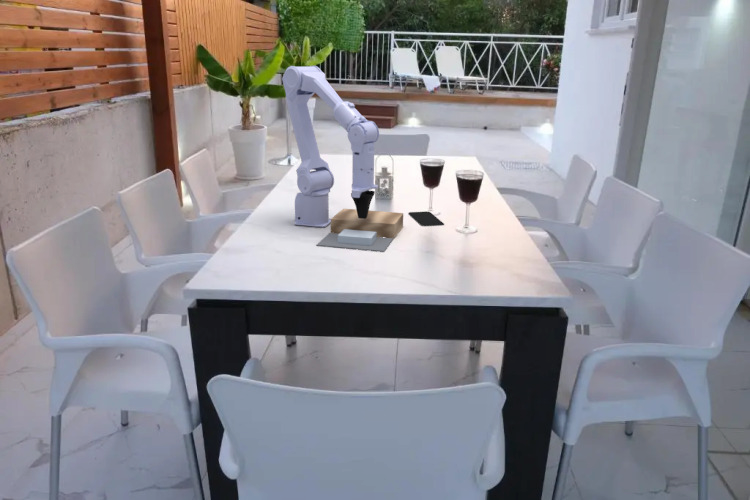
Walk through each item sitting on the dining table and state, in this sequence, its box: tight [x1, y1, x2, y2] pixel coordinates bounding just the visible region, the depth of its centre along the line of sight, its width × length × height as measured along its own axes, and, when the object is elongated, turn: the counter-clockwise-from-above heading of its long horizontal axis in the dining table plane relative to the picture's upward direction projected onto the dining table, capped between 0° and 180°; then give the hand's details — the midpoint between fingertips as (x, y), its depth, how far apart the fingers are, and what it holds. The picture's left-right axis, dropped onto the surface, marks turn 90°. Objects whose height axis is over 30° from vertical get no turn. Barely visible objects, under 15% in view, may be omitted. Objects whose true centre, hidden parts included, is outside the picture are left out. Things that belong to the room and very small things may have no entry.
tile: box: [338, 229, 377, 246], centre depth 156 cm, size 9×6×2 cm, turn 76°
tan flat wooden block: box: [330, 208, 404, 239], centre depth 166 cm, size 18×12×4 cm, turn 76°
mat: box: [315, 232, 394, 253], centre depth 155 cm, size 18×11×1 cm, turn 76°
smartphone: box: [408, 211, 445, 227], centre depth 179 cm, size 7×1×15 cm
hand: (362, 217), depth 161 cm, fingers closed
